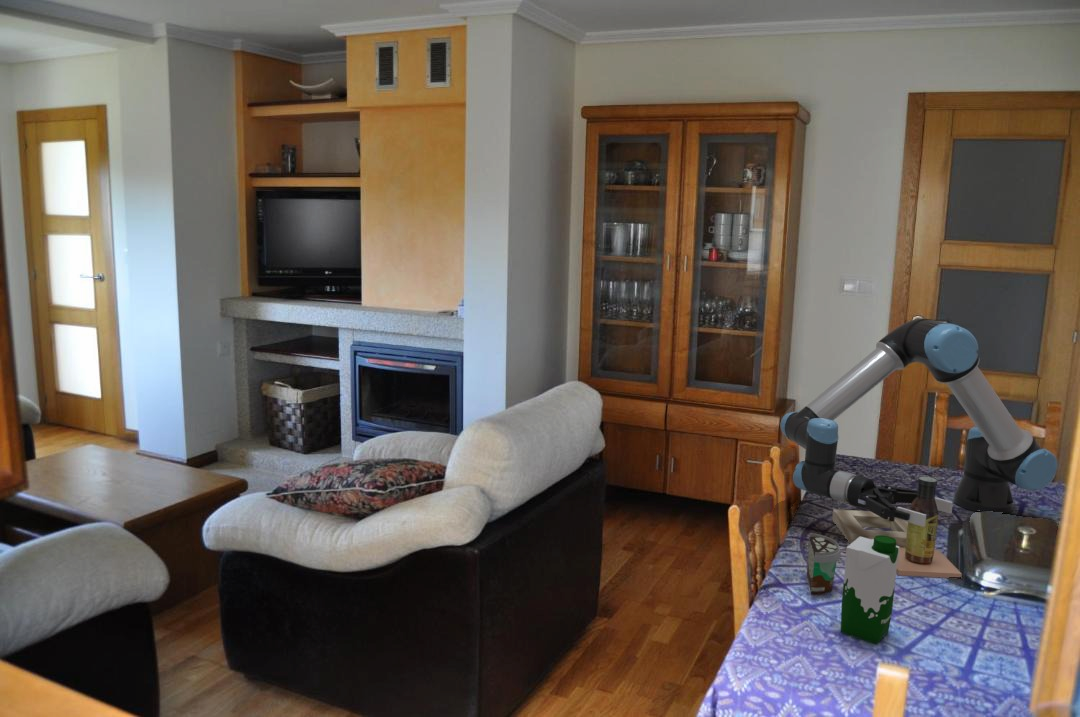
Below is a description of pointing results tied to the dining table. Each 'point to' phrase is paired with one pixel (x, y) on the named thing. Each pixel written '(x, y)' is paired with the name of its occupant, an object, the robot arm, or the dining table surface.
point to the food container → (821, 563)
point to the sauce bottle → (920, 537)
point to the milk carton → (869, 587)
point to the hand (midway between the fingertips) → (938, 514)
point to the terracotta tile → (927, 566)
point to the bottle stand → (855, 520)
